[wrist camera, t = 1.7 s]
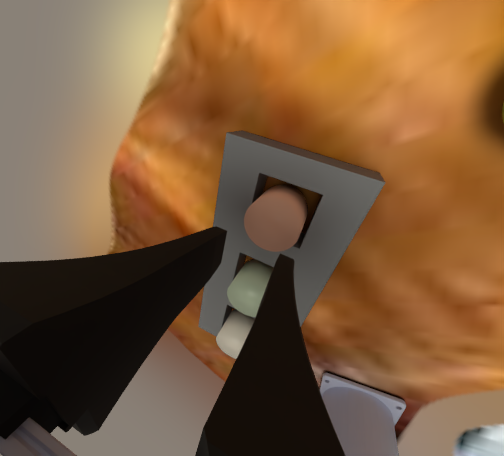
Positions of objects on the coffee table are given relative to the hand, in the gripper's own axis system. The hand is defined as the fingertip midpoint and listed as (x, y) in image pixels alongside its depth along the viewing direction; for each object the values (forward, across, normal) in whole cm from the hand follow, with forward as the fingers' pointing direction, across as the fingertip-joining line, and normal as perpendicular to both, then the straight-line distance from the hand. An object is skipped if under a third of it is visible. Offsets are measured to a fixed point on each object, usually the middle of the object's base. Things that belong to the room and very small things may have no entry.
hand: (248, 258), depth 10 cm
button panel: (+8, 0, +7) cm, 11 cm away
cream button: (+7, 0, +14) cm, 15 cm away
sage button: (+7, 0, +7) cm, 10 cm away
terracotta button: (+7, 0, 0) cm, 7 cm away
